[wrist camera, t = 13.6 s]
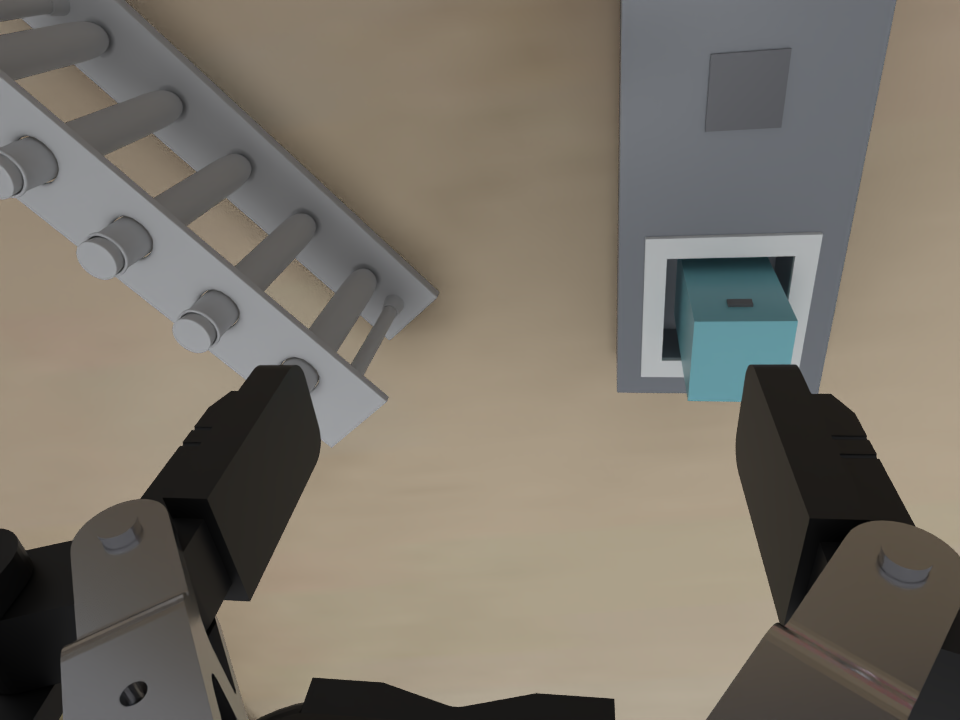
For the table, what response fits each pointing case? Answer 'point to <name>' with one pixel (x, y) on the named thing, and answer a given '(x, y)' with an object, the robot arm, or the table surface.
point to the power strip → (739, 158)
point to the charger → (729, 323)
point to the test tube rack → (196, 205)
